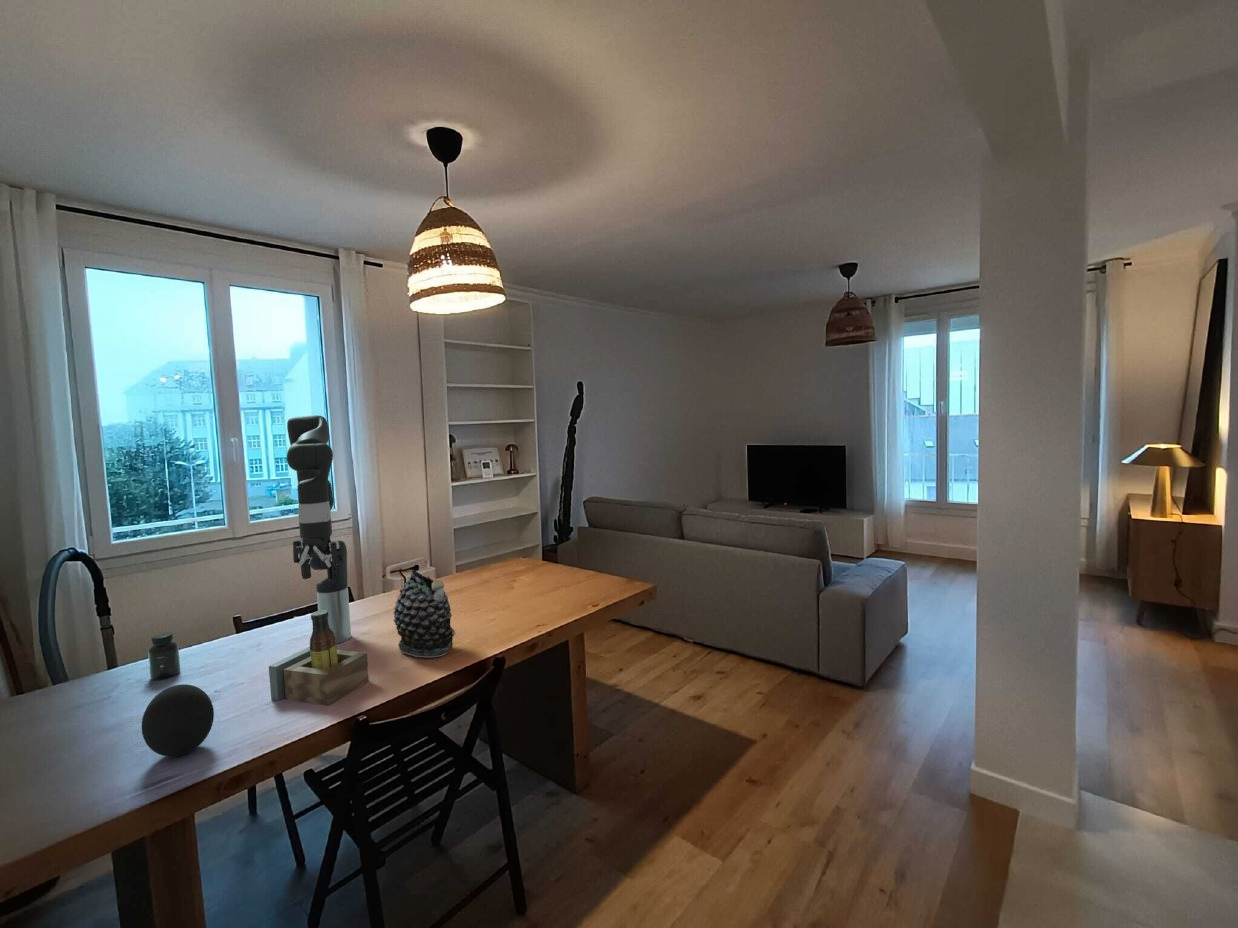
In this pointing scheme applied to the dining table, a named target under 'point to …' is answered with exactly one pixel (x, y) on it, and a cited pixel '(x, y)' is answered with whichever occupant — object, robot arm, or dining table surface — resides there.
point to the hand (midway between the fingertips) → (319, 579)
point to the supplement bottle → (163, 657)
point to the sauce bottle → (322, 642)
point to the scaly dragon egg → (423, 618)
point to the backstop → (278, 673)
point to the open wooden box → (326, 679)
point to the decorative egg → (177, 720)
